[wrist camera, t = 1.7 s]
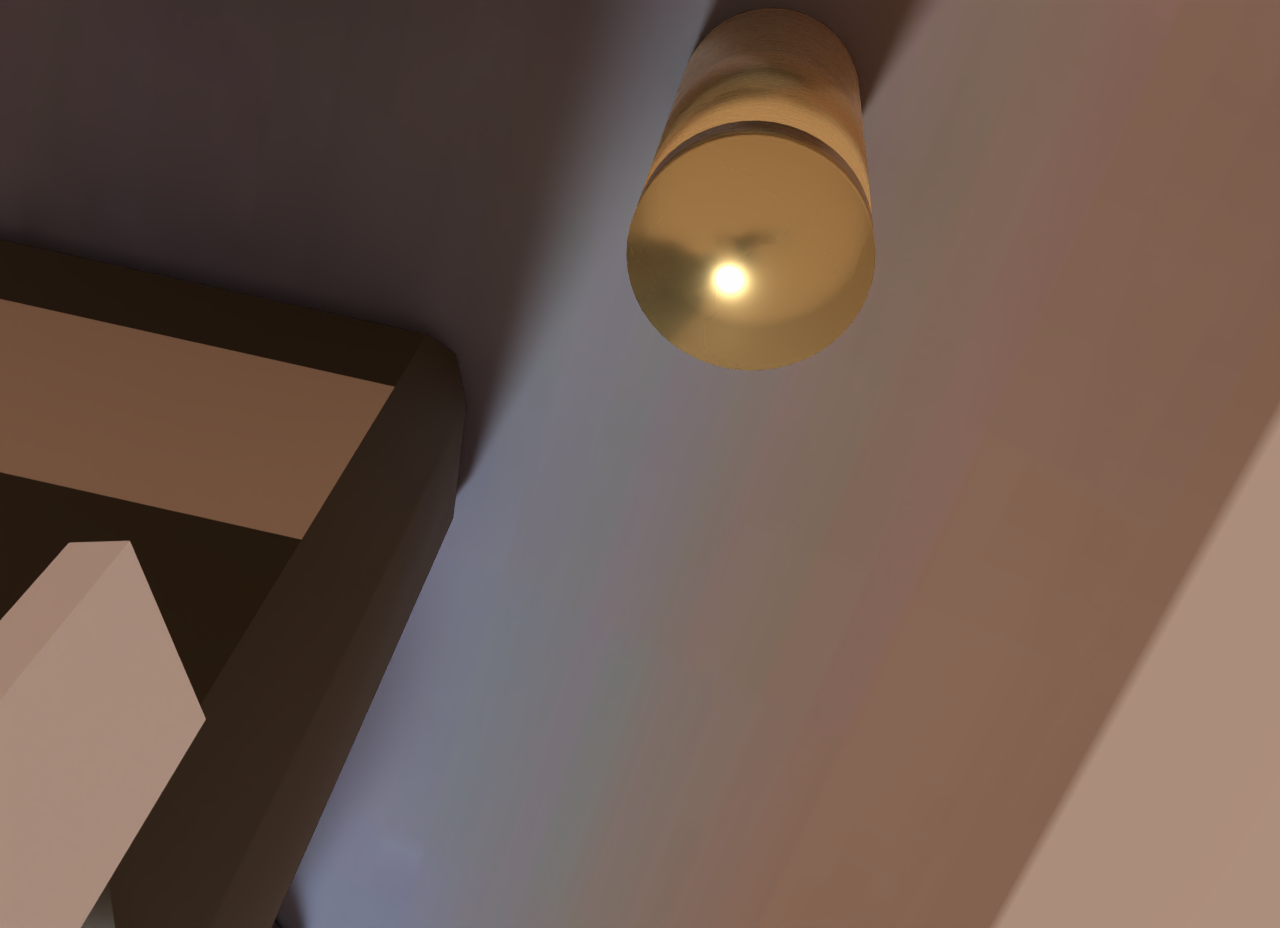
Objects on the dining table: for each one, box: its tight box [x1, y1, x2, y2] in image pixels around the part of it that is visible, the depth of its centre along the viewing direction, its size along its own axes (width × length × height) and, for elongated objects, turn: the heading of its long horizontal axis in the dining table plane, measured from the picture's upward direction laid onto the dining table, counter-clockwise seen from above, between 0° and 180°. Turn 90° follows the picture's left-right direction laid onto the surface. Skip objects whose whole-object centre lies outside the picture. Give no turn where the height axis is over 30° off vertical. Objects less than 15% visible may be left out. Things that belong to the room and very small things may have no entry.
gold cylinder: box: [627, 8, 875, 370], centre depth 26 cm, size 4×4×10 cm
